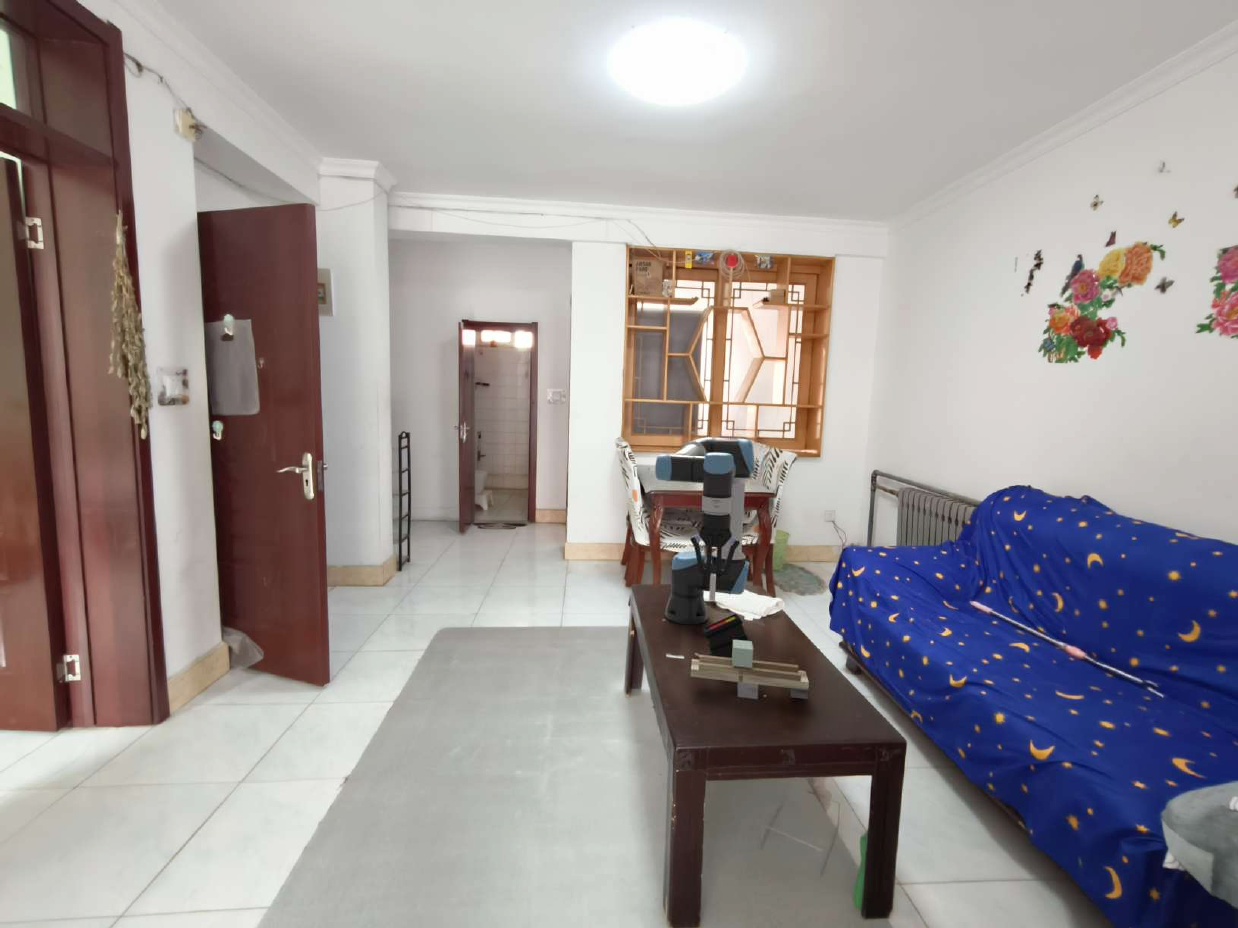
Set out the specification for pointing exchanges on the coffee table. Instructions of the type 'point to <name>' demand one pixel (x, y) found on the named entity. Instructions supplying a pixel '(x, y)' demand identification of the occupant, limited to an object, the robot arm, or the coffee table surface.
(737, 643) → the block
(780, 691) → the coffee table surface
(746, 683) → the beam
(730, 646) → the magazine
